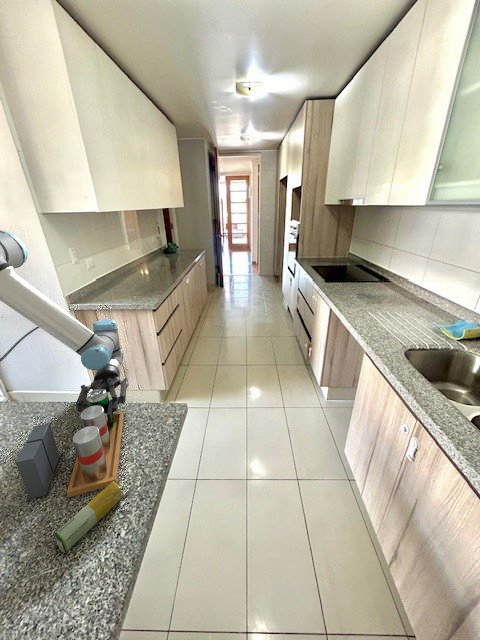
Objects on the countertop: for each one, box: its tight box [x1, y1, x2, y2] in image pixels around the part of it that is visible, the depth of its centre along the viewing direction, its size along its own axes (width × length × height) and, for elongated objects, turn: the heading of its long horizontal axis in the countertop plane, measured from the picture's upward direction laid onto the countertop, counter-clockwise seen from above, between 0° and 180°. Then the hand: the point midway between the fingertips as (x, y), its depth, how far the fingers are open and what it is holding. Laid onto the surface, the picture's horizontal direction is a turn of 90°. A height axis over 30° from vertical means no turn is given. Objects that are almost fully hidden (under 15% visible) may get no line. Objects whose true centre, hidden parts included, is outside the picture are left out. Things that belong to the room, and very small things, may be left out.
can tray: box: [66, 411, 125, 498], centre depth 68 cm, size 24×10×2 cm, turn 19°
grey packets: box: [15, 422, 60, 500], centre depth 59 cm, size 10×3×11 cm, turn 19°
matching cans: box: [72, 406, 111, 483], centre depth 62 cm, size 13×5×12 cm, turn 19°
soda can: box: [86, 389, 114, 431], centre depth 72 cm, size 5×5×12 cm
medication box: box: [53, 481, 123, 554], centre depth 51 cm, size 12×3×4 cm, turn 149°
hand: (97, 421), depth 67 cm, fingers closed on soda can, 5 cm apart
